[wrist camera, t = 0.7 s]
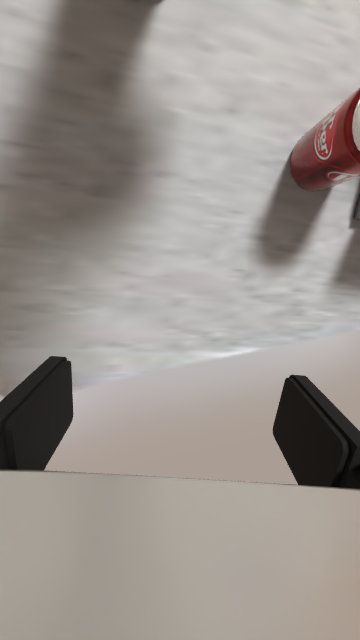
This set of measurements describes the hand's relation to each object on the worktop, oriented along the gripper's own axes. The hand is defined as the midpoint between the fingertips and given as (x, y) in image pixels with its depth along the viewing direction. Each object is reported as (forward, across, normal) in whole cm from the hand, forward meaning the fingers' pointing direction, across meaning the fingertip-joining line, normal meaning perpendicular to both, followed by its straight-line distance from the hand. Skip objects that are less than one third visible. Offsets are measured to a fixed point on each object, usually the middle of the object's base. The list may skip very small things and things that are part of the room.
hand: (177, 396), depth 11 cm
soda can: (+28, -17, -18) cm, 37 cm away
